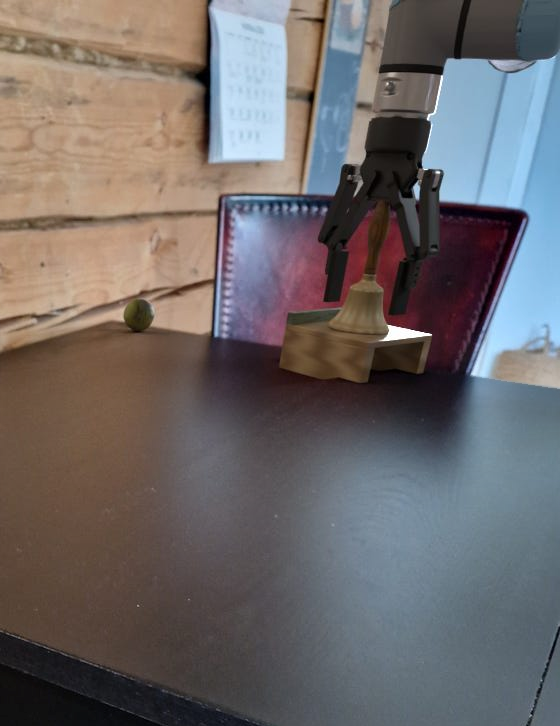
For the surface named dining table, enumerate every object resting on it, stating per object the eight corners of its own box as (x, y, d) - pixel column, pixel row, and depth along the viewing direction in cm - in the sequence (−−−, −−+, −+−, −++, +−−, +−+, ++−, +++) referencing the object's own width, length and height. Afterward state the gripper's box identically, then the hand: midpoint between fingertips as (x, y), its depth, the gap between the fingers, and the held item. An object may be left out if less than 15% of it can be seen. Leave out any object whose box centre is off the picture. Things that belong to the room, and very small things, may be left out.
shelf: (421, 379, 120) (435, 323, 116) (358, 390, 112) (371, 330, 108) (341, 359, 129) (352, 306, 125) (278, 367, 122) (287, 312, 118)
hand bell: (397, 336, 114) (427, 202, 106) (335, 333, 114) (361, 198, 106) (379, 325, 121) (406, 198, 113) (321, 321, 121) (344, 195, 113)
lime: (118, 329, 141) (120, 297, 138) (141, 328, 143) (144, 296, 141) (134, 334, 138) (137, 302, 135) (158, 332, 140) (161, 300, 138)
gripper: (310, 114, 111) (281, 296, 122) (467, 115, 95) (418, 324, 107) (346, 117, 115) (316, 293, 126) (503, 120, 99) (452, 320, 111)
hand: (362, 307), depth 116 cm, fingers open, 10 cm apart
